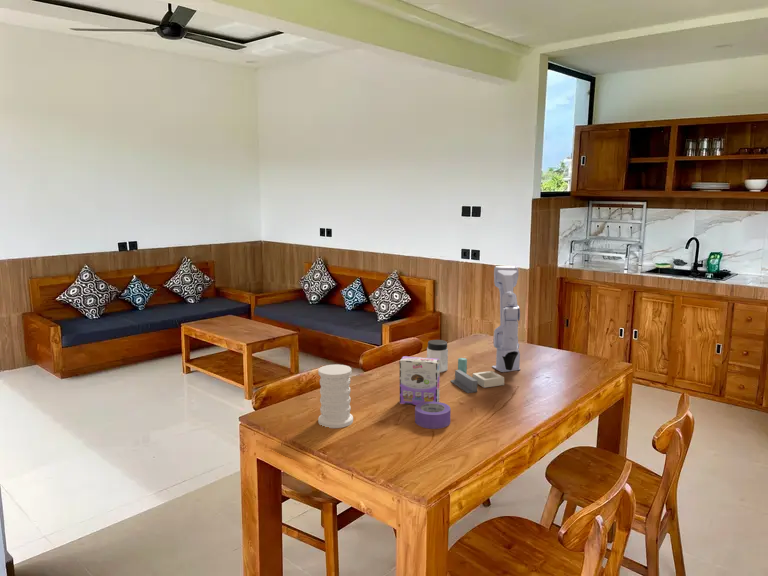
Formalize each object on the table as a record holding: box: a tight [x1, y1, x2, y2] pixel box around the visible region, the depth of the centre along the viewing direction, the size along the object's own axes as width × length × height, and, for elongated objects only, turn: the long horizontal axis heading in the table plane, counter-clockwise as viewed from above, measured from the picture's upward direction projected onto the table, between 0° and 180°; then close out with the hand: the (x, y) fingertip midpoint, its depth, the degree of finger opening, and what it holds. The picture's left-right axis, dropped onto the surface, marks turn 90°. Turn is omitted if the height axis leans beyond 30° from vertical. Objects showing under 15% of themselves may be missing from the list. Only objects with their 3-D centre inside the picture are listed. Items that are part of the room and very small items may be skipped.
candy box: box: [398, 355, 441, 406], centre depth 212 cm, size 14×6×16 cm, turn 74°
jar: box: [426, 339, 449, 373], centre depth 250 cm, size 9×8×12 cm
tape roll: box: [414, 401, 452, 430], centre depth 196 cm, size 12×12×5 cm
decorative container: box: [317, 364, 354, 429], centre depth 195 cm, size 12×12×18 cm
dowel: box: [457, 357, 468, 375], centre depth 242 cm, size 4×4×7 cm
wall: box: [450, 369, 478, 394], centre depth 230 cm, size 4×14×4 cm, turn 21°
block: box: [471, 370, 505, 389], centre depth 234 cm, size 9×9×3 cm
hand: (508, 369), depth 236 cm, fingers closed
